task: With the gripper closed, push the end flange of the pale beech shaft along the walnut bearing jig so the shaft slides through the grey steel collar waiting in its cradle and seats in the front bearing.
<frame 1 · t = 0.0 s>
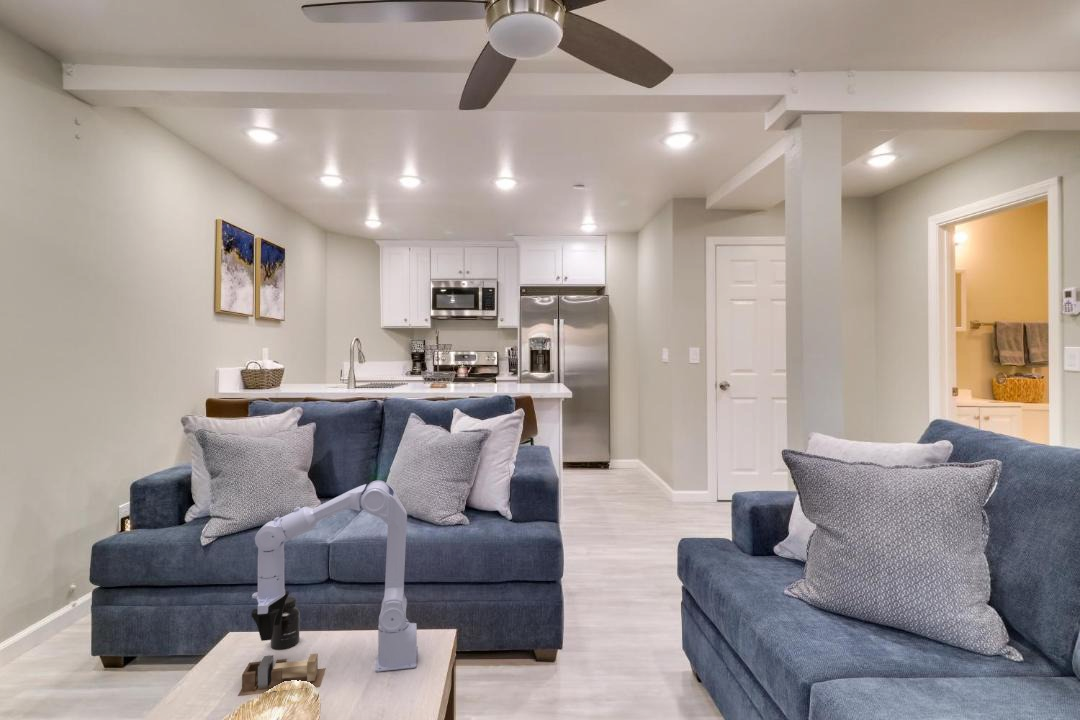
hand: (271, 632, 133), 10 cm above the table, fingers open, 7 cm apart
shaft: (295, 669, 129), point 3 cm above the table, slide at 0.0 cm
jig: (283, 684, 128), on the table
collar: (265, 683, 128), point 1 cm above the table, touching jig
supplement bottle: (285, 647, 146), on the table
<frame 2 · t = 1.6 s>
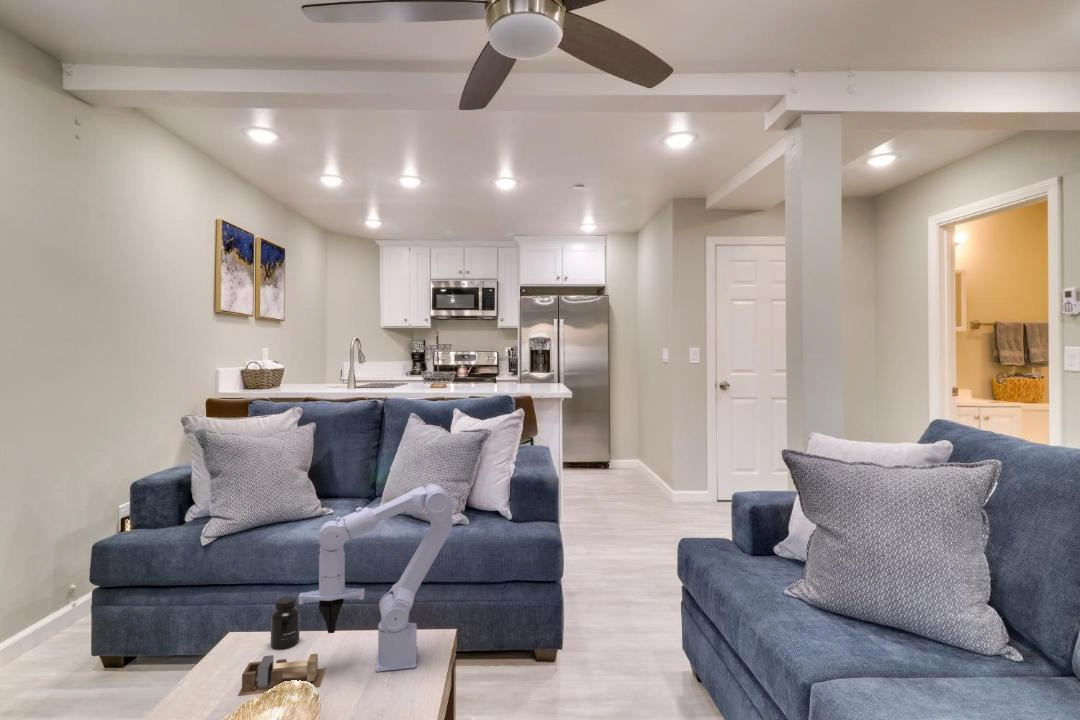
hand: (331, 631, 133), 10 cm above the table, fingers closed
nothing on the table moved.
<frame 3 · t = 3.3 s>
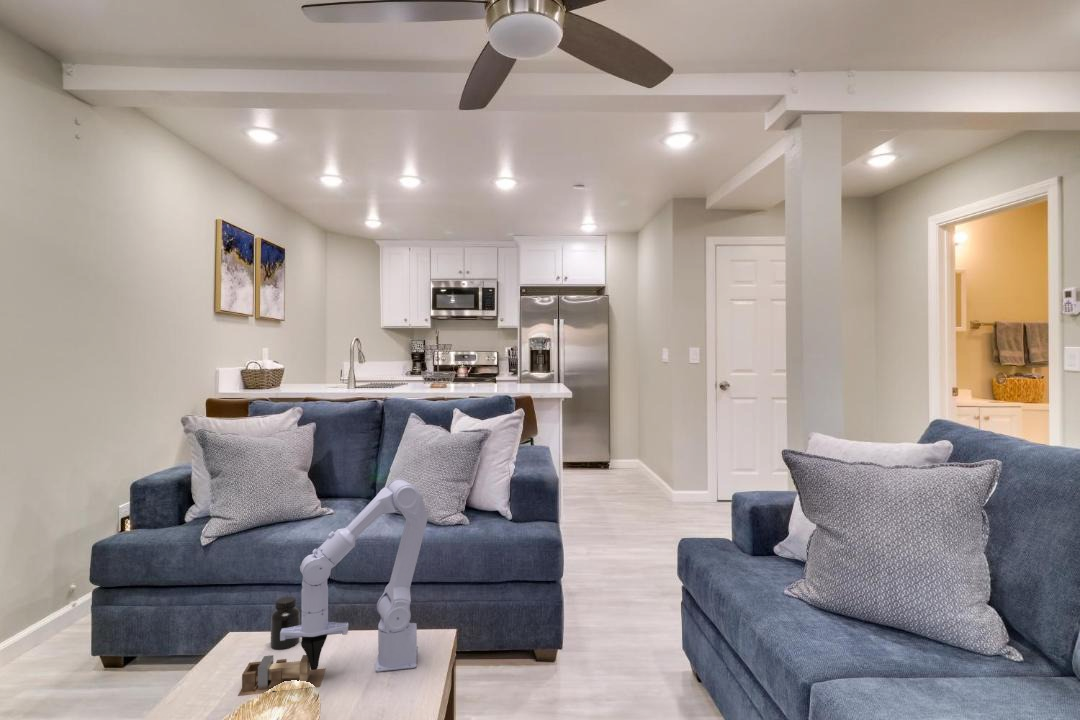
hand: (314, 667, 130), 3 cm above the table, fingers closed
shaft: (287, 669, 129), point 3 cm above the table, slide at 1.6 cm, touching gripper
everything else where it was.
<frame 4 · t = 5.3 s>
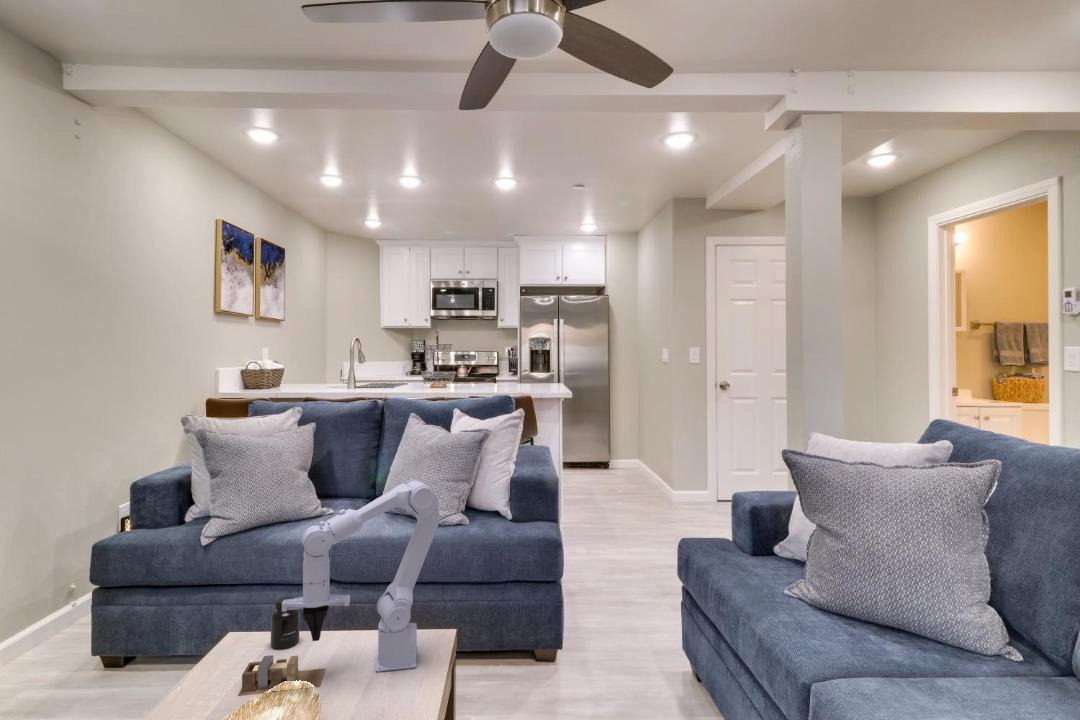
hand: (316, 638, 130), 10 cm above the table, fingers closed
shaft: (275, 671, 128), point 3 cm above the table, slide at 4.3 cm
everything else where it was.
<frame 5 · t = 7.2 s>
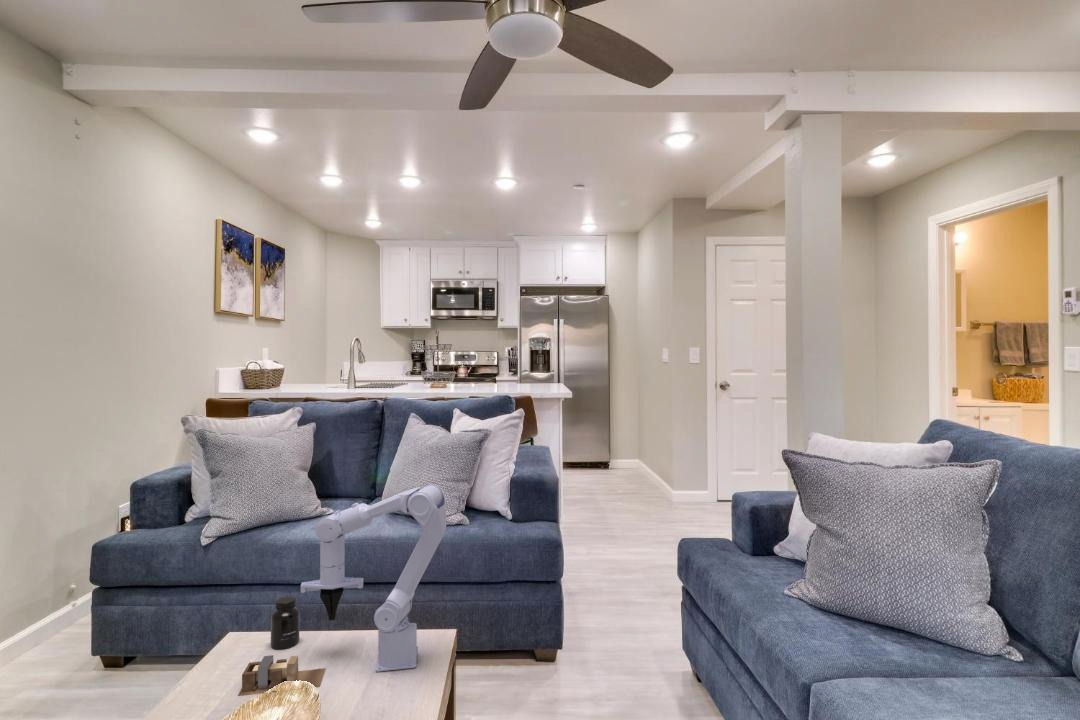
hand: (332, 618, 140), 10 cm above the table, fingers closed
nothing on the table moved.
at the end: shaft slide at 4.3 cm; collar 0.0 cm from the target spot on the jig, point 0.8 cm above the jig's base; collar tilted 0° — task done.
